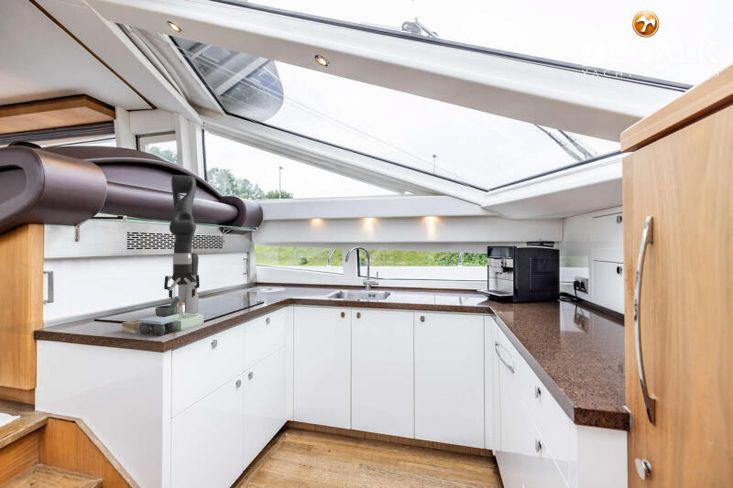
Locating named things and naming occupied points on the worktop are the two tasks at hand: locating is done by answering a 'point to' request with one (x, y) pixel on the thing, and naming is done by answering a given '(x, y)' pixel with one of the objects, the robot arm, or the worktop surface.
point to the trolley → (157, 325)
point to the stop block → (131, 326)
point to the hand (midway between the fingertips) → (182, 297)
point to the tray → (187, 321)
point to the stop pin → (181, 310)
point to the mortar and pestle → (168, 308)
